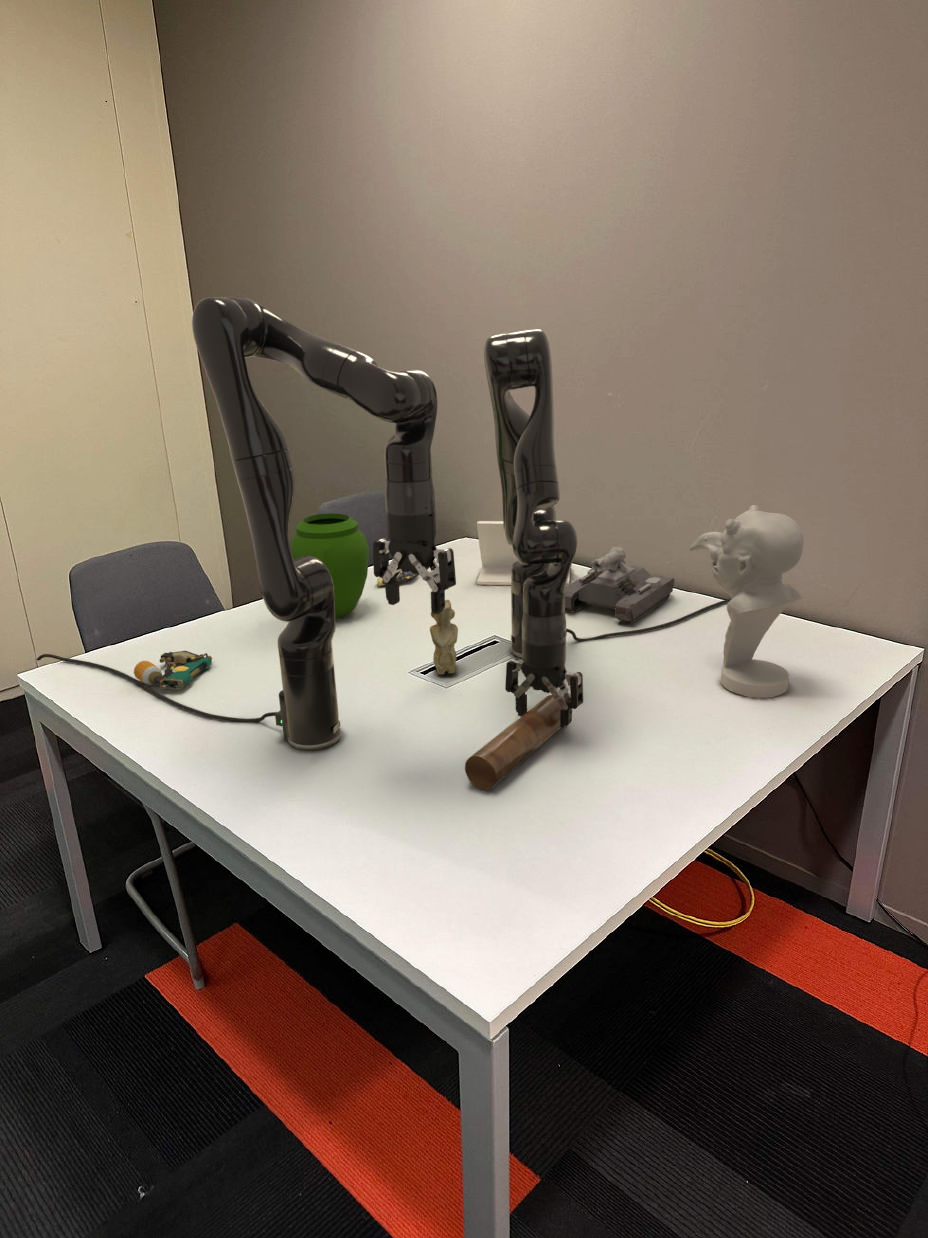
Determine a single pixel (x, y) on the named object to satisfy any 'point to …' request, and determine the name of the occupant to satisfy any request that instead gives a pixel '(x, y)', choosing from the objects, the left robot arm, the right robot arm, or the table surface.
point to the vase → (336, 555)
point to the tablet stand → (495, 554)
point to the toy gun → (401, 577)
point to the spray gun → (172, 669)
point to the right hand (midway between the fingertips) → (543, 720)
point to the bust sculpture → (753, 593)
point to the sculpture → (444, 640)
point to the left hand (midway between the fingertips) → (415, 608)
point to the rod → (513, 744)
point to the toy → (618, 588)
